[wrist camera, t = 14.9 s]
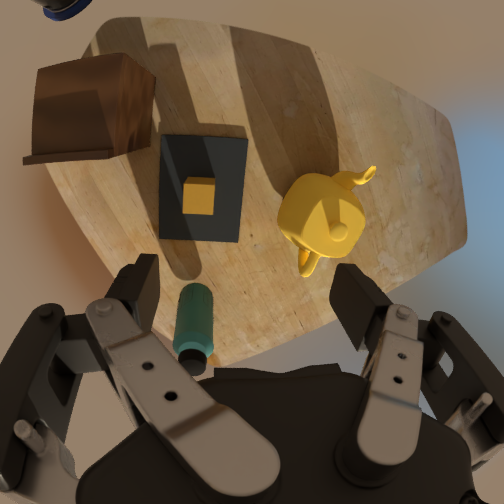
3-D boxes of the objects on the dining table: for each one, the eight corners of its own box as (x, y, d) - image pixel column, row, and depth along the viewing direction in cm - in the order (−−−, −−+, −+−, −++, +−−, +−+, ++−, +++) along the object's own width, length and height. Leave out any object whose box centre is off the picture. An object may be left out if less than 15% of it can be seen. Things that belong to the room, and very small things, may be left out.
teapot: (368, 173, 48) (406, 189, 37) (317, 263, 54) (341, 298, 43) (309, 137, 44) (338, 141, 33) (256, 237, 51) (267, 270, 39)
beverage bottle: (177, 278, 52) (162, 353, 34) (212, 276, 53) (212, 351, 35) (183, 306, 55) (173, 383, 37) (215, 304, 56) (217, 382, 38)
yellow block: (188, 176, 44) (183, 183, 39) (215, 178, 45) (214, 184, 39) (186, 203, 46) (182, 213, 41) (213, 204, 47) (212, 214, 41)
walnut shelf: (91, 82, 35) (29, 67, 18) (156, 77, 37) (117, 47, 20) (86, 148, 40) (22, 165, 23) (150, 146, 42) (107, 159, 25)
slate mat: (162, 134, 41) (161, 134, 41) (248, 139, 43) (248, 139, 43) (159, 237, 49) (159, 238, 48) (237, 241, 51) (238, 242, 50)
